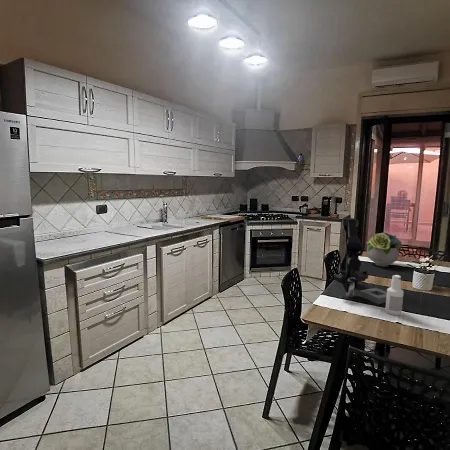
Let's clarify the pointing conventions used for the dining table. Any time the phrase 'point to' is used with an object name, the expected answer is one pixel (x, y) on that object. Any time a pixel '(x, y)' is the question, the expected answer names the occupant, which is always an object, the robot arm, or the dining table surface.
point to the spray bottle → (394, 296)
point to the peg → (351, 289)
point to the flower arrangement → (383, 249)
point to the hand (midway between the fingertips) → (349, 292)
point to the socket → (374, 295)
